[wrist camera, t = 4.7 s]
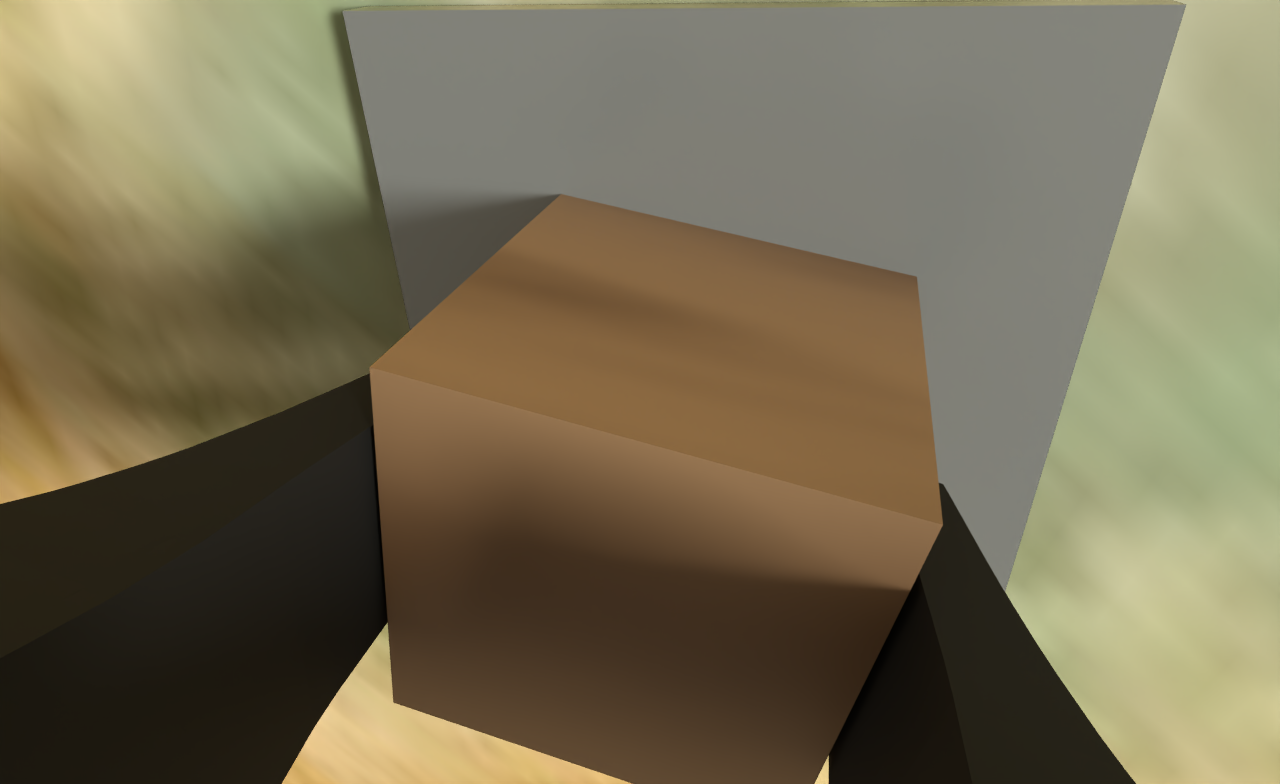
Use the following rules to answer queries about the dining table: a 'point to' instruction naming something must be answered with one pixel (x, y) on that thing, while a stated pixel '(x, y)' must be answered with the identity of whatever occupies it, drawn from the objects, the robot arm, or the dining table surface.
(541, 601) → the walnut cube
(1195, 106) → the dining table surface
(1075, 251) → the slate coaster
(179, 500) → the robot arm
